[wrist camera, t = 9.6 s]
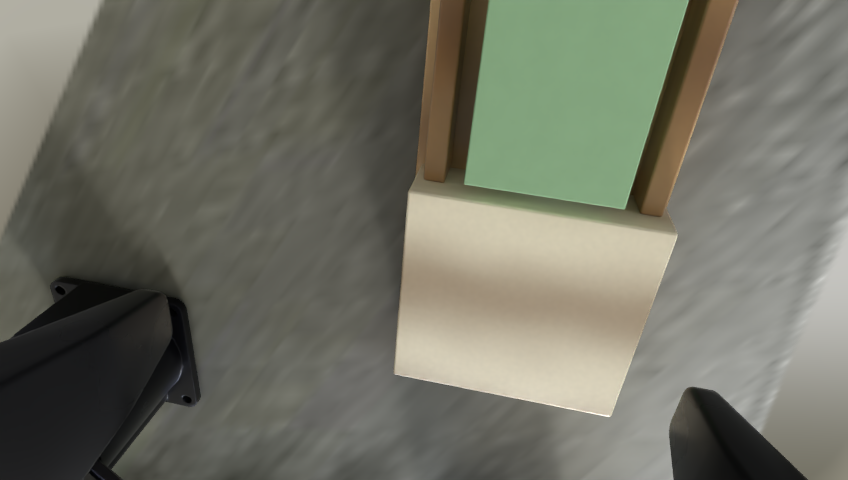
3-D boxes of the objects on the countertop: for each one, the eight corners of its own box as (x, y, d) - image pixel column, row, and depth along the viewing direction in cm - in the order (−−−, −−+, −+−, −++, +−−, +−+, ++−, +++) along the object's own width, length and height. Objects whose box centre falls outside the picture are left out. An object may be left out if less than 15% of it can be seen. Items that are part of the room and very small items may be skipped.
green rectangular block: (612, 169, 18) (625, 210, 15) (474, 148, 18) (463, 184, 16) (671, -39, 15) (699, -32, 12) (503, -57, 15) (495, -54, 13)
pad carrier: (606, 363, 22) (615, 423, 20) (405, 325, 23) (387, 377, 21) (761, -94, 14) (813, -100, 12) (445, -124, 15) (425, -135, 13)
